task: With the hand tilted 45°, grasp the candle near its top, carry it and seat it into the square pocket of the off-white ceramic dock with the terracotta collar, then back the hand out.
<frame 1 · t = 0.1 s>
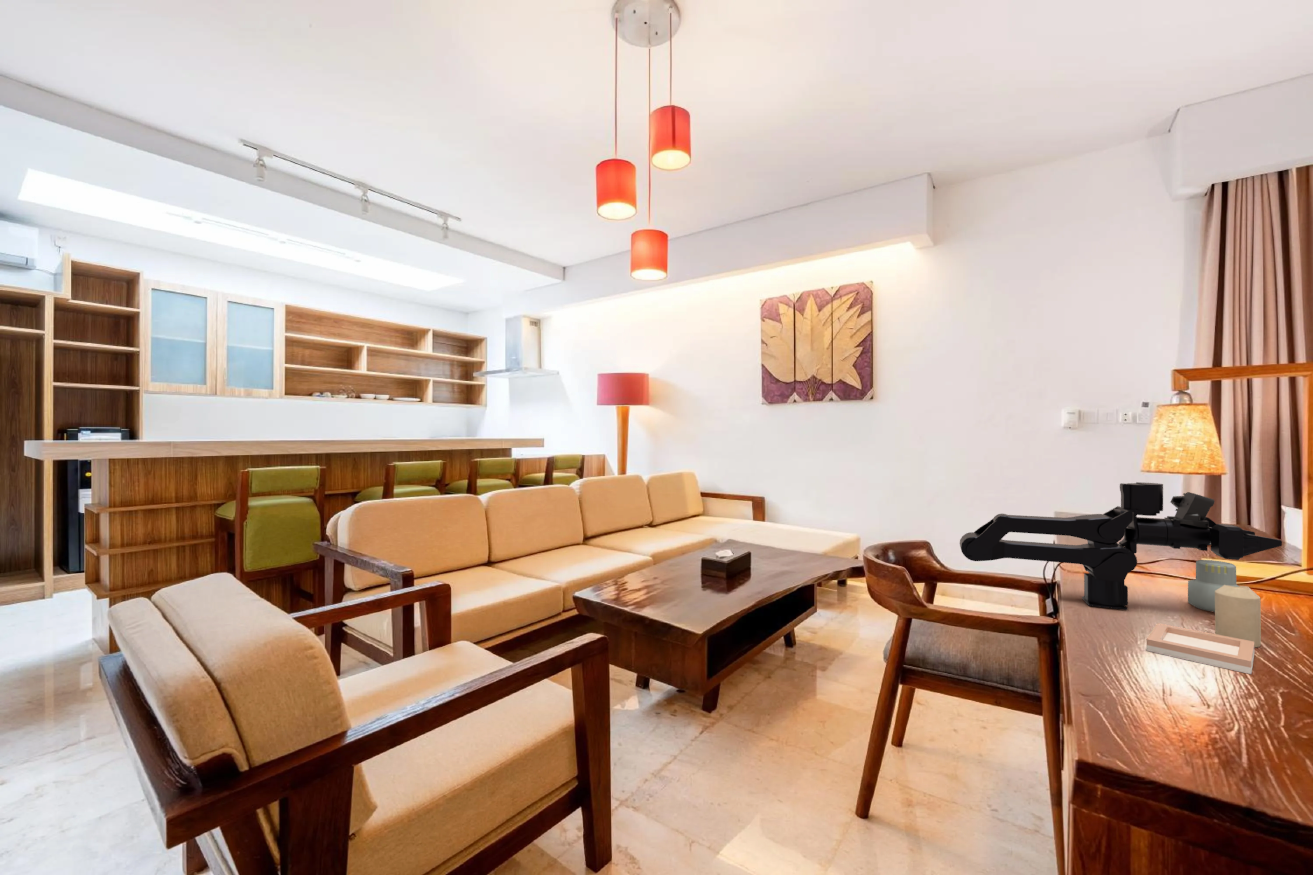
hand: (1267, 538, 104), 17 cm above the table, tool horizontal, fingers open, 9 cm apart
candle: (1237, 642, 95), on the table
dock: (1200, 651, 90), on the table
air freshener: (1215, 610, 112), on the table
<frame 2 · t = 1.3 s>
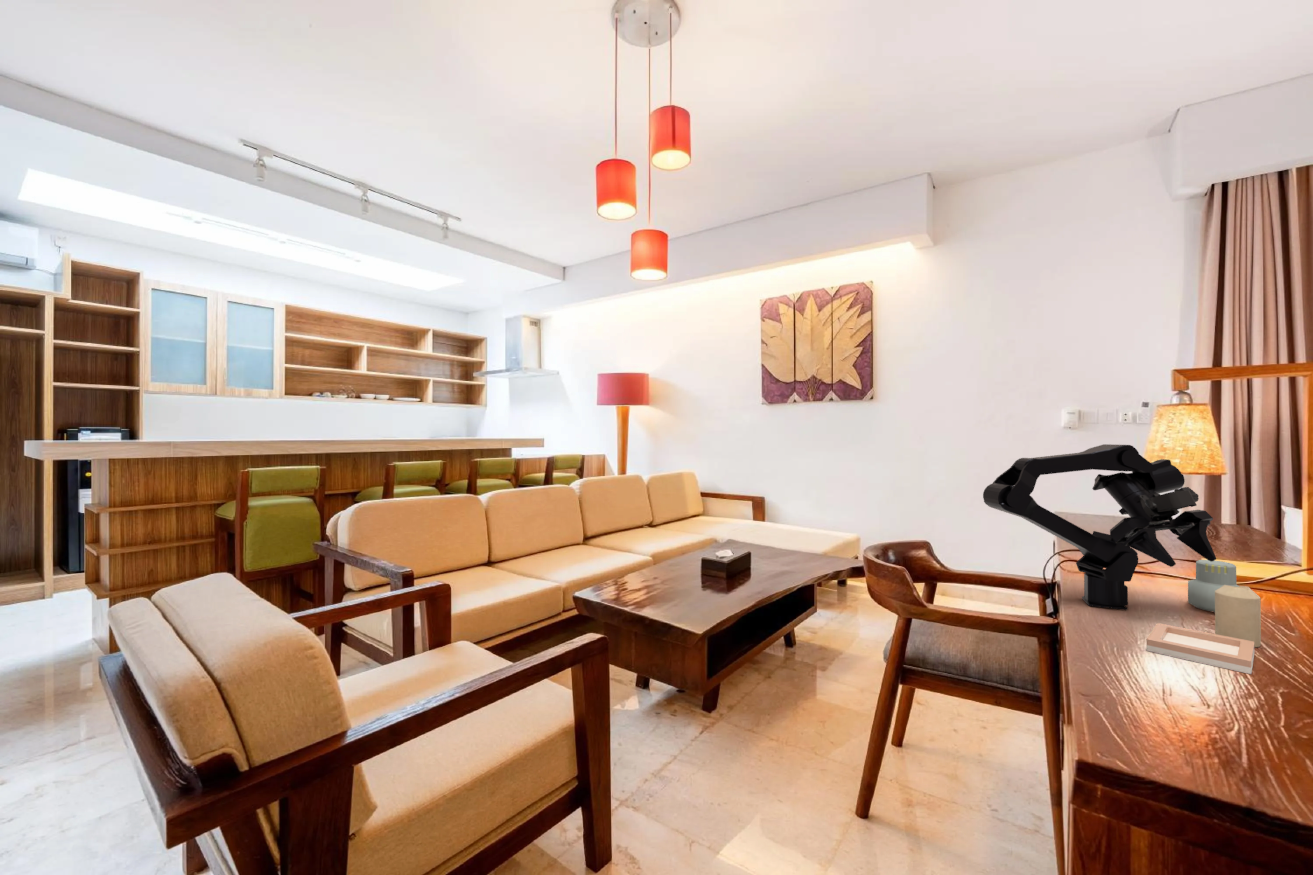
hand: (1193, 562, 103), 12 cm above the table, tool tilted 45°, fingers open, 9 cm apart
nothing on the table moved.
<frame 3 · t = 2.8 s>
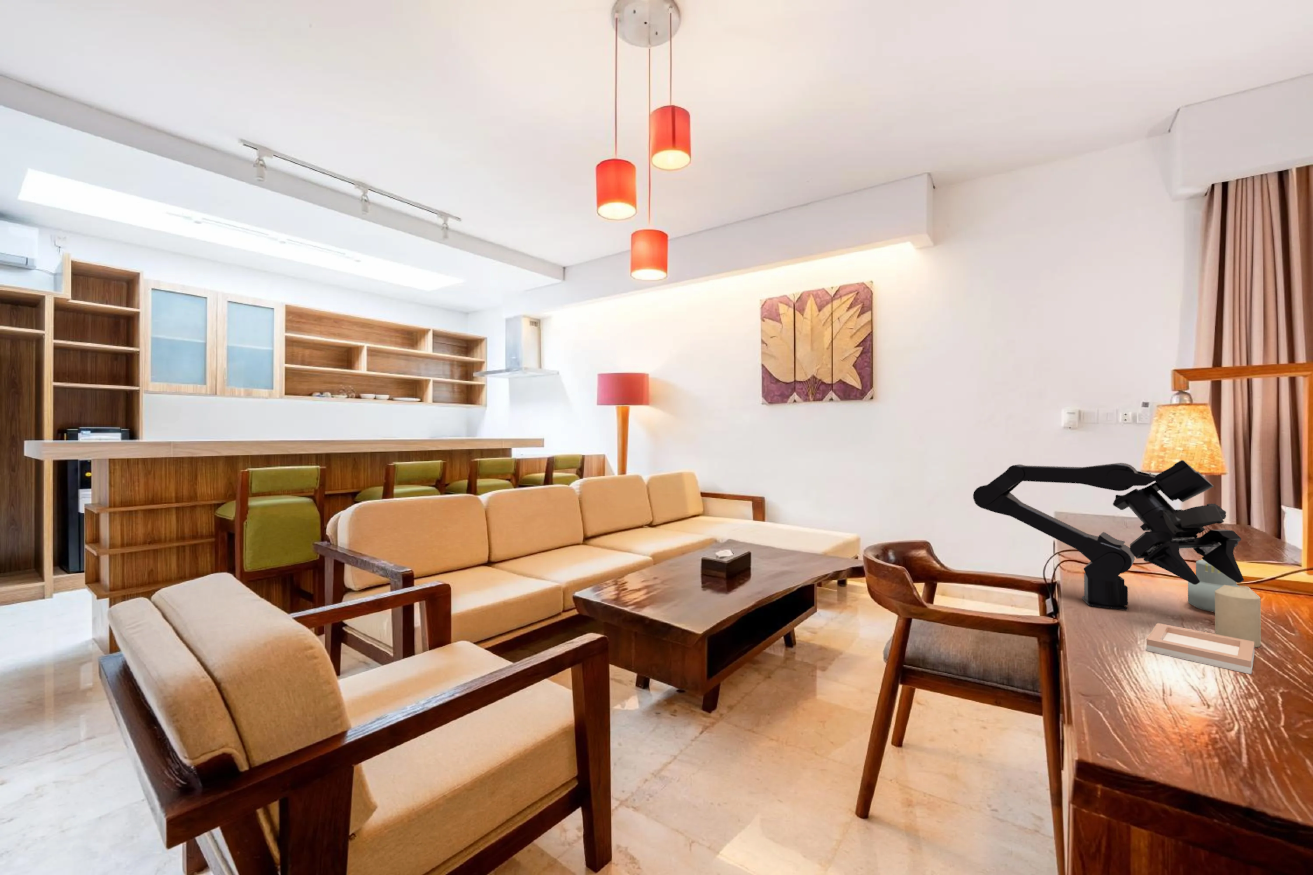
hand: (1219, 582, 98), 10 cm above the table, tool tilted 45°, fingers open, 9 cm apart
nothing on the table moved.
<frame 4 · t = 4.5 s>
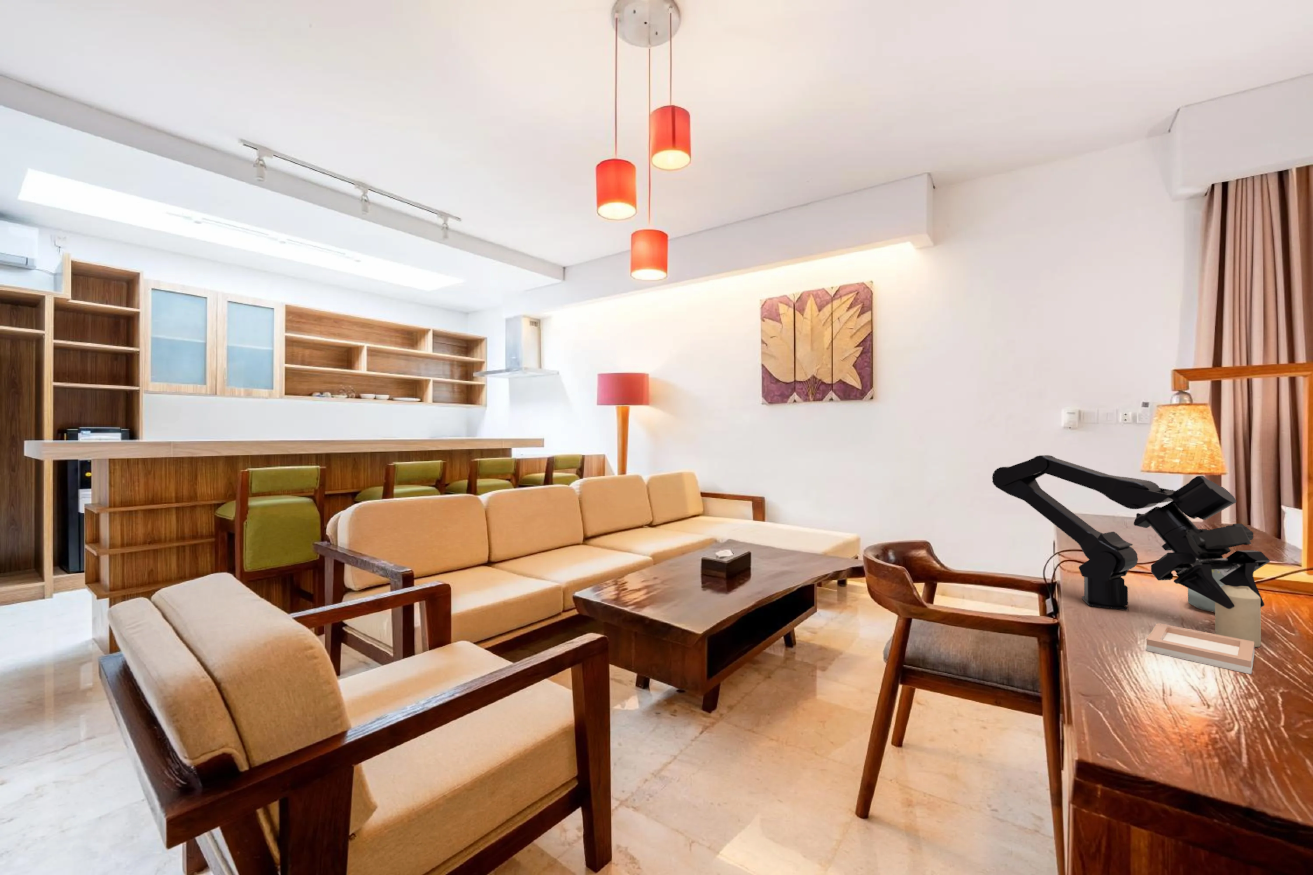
hand: (1246, 607, 93), 7 cm above the table, tool tilted 45°, fingers closed on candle, 5 cm apart
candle: (1237, 642, 95), on the table, touching gripper
everything else where it was.
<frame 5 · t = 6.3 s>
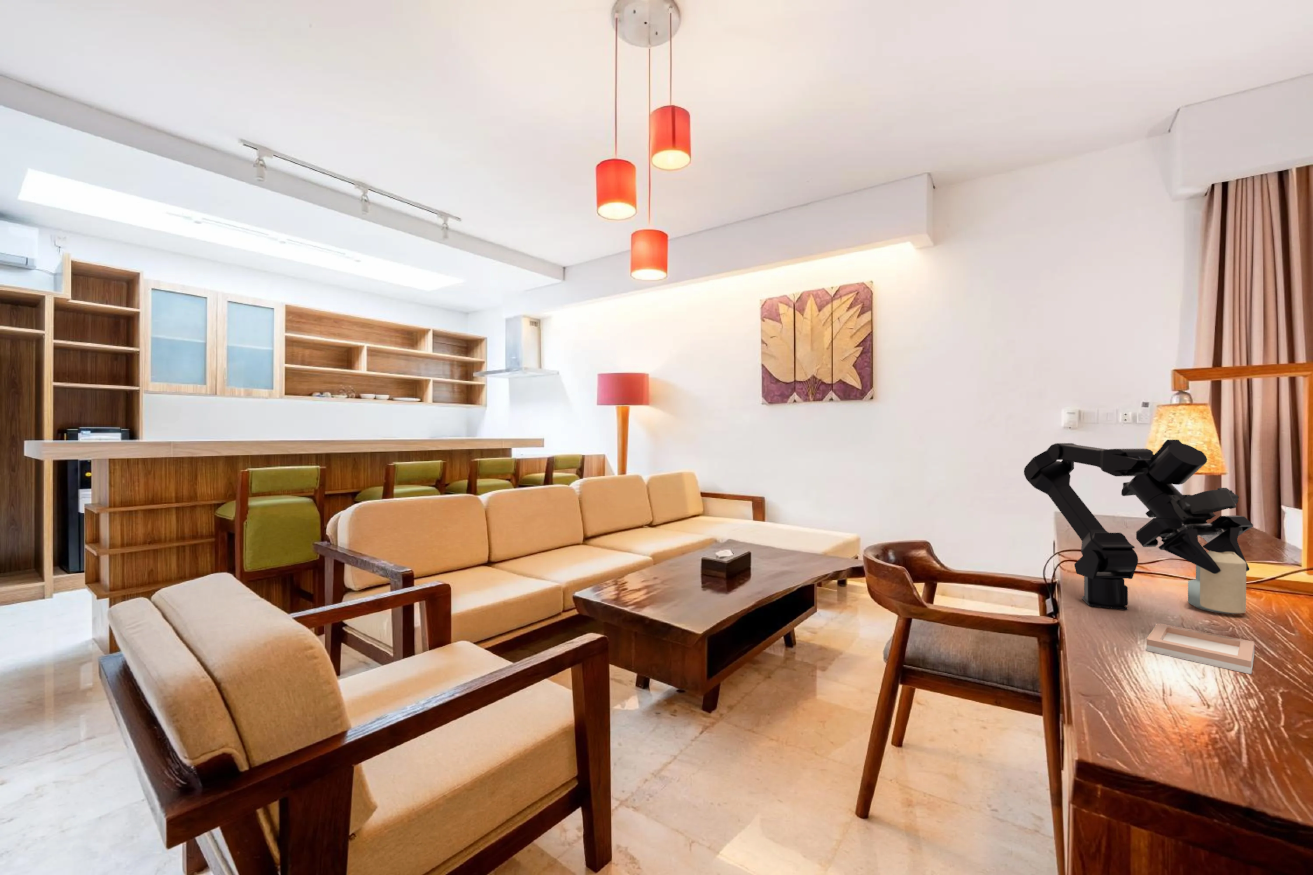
hand: (1232, 571, 91), 13 cm above the table, tool tilted 45°, fingers closed on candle, 5 cm apart
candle: (1222, 609, 93), point 6 cm above the table, touching gripper
everything else where it was.
when the fingers open (9 cm above the table, at t = 8.3 s): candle stays where it is, resting on dock.
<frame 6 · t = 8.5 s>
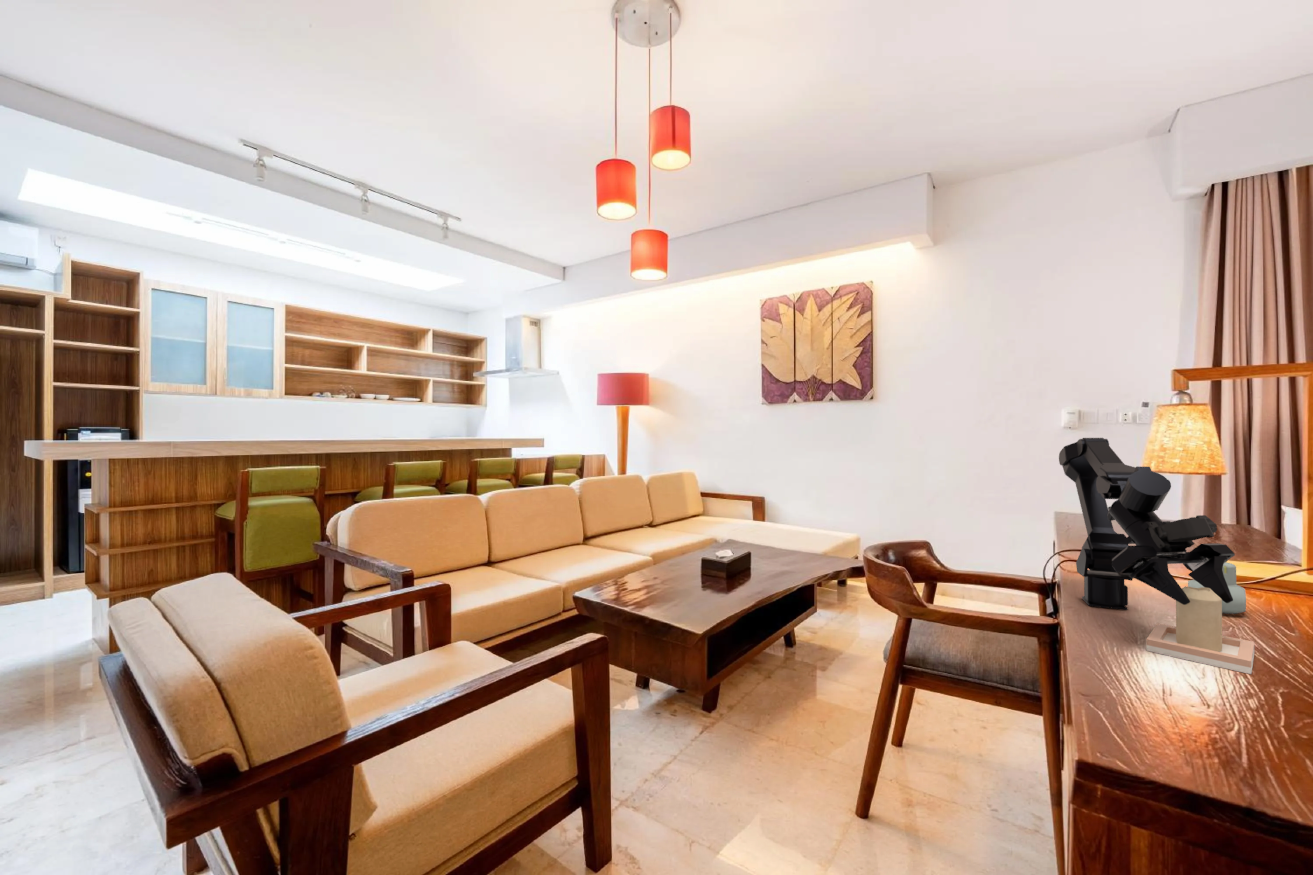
hand: (1208, 602, 89), 9 cm above the table, tool tilted 45°, fingers open, 8 cm apart
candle: (1198, 646, 91), point 1 cm above the table, touching dock
everything else where it was.
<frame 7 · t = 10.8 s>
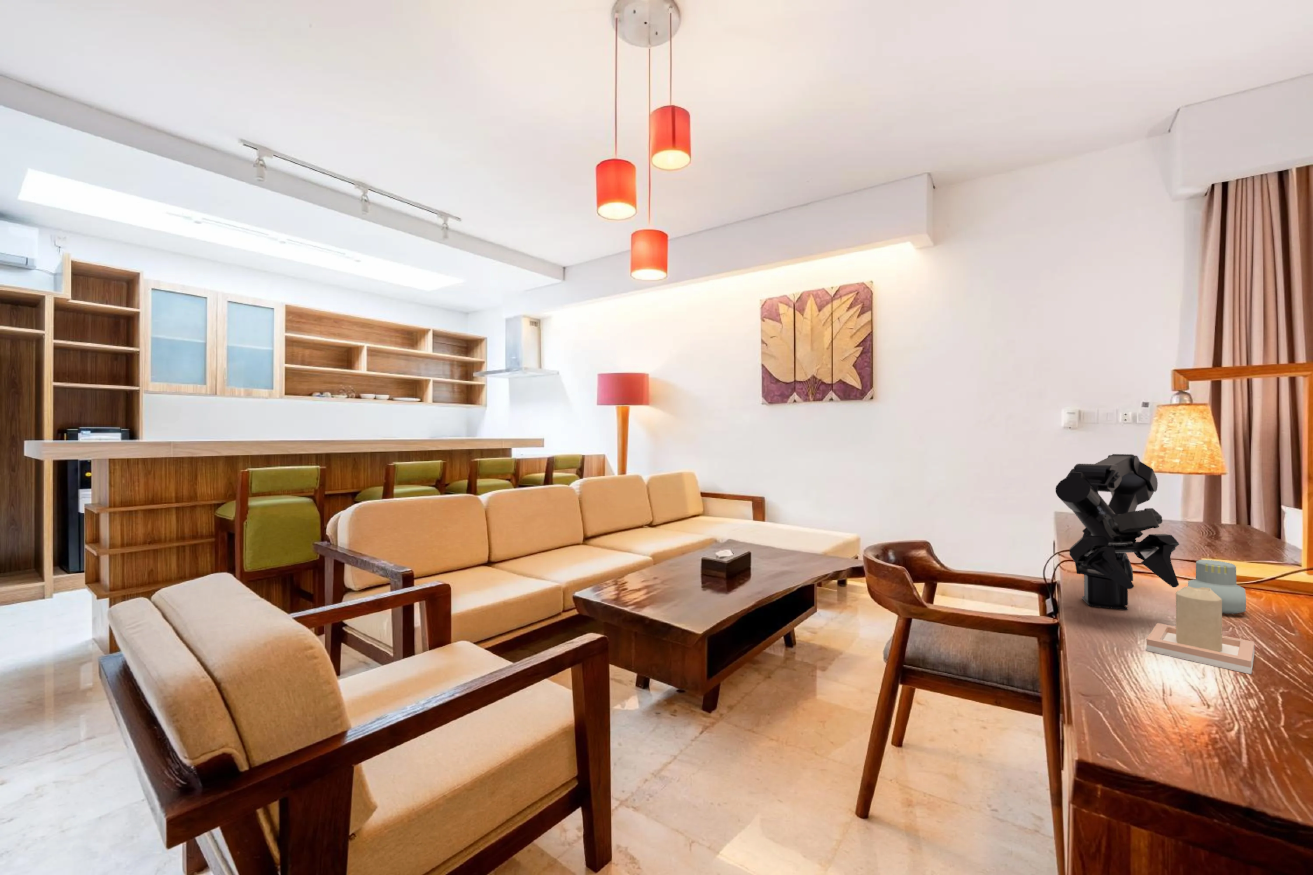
hand: (1154, 587, 98), 9 cm above the table, tool tilted 45°, fingers open, 9 cm apart
nothing on the table moved.
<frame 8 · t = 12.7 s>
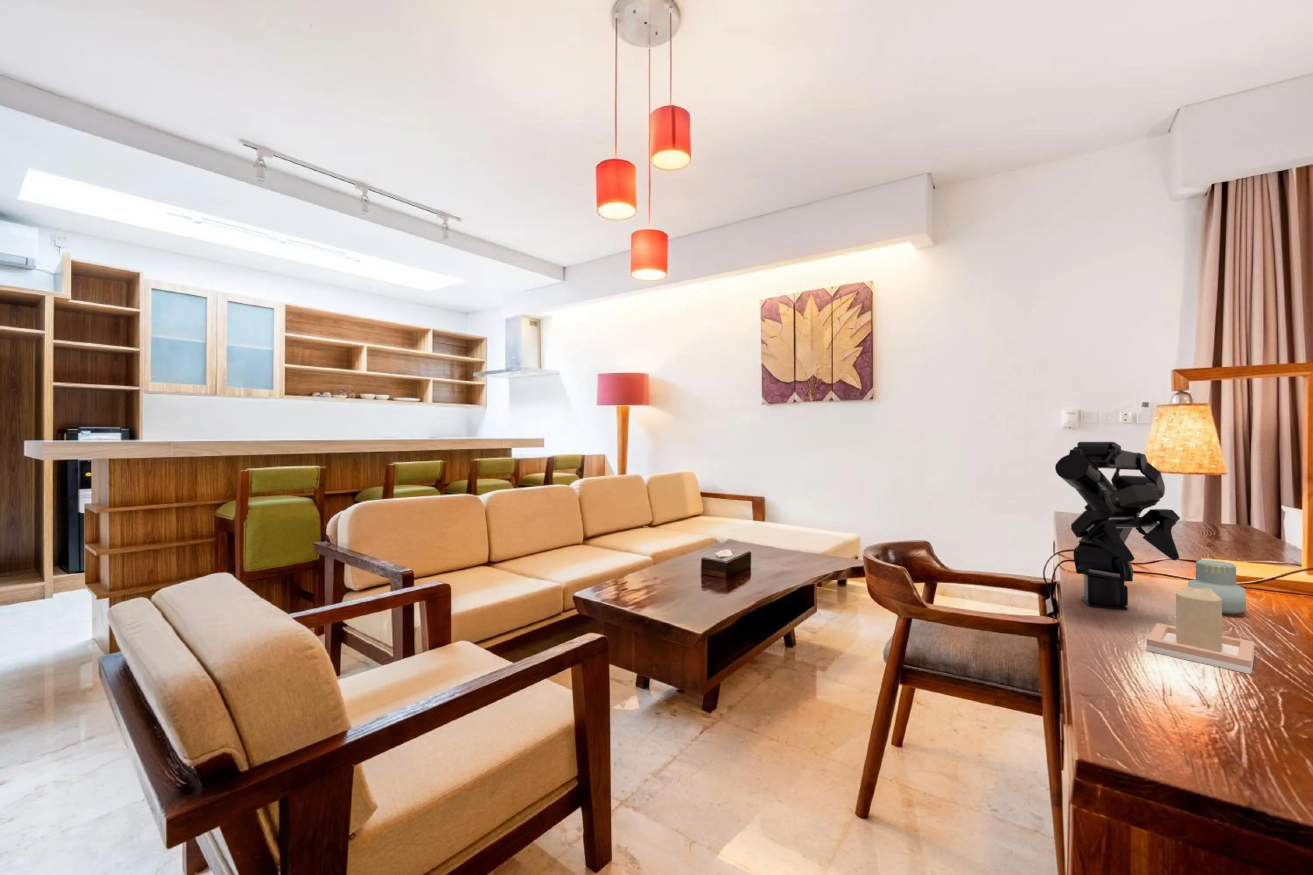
hand: (1154, 559, 100), 14 cm above the table, tool tilted 45°, fingers open, 9 cm apart
nothing on the table moved.
at the end: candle 0.1 cm off-centre on the dock, point 0.8 cm above the dock's base; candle tilted 0°; the gripper is holding nothing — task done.
